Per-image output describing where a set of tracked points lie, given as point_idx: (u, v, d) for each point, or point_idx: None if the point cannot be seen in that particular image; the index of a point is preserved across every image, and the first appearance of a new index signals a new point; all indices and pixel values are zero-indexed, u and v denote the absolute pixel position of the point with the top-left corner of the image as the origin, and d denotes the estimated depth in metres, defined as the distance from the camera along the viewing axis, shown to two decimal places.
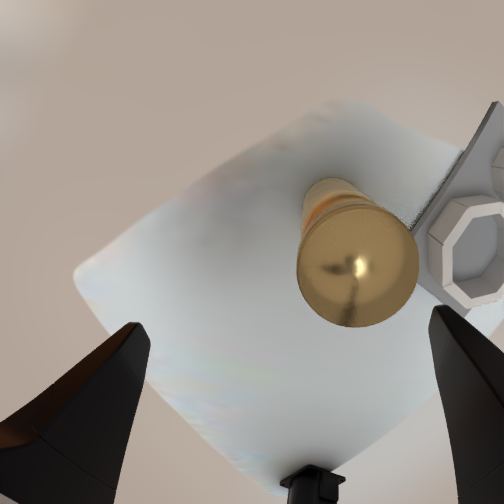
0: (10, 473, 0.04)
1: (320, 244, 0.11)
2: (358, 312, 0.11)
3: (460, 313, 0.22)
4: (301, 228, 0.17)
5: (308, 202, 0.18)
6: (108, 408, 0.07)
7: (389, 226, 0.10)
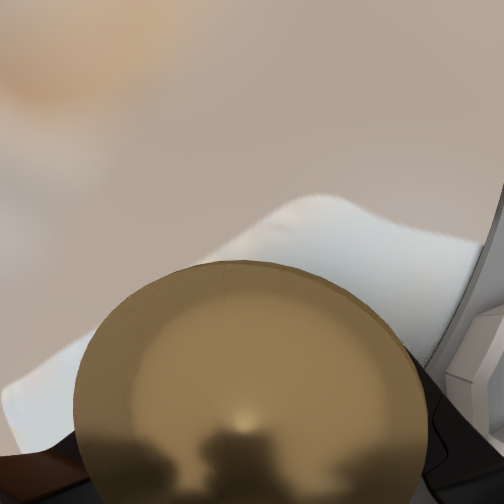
0: None
1: (108, 363, 0.04)
2: None
3: None
4: None
5: None
6: None
7: (308, 310, 0.03)
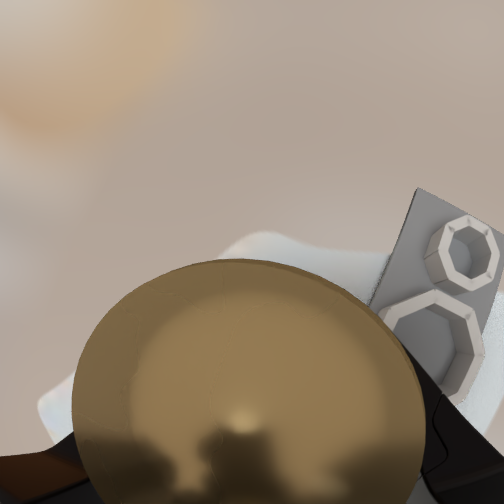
0: None
1: (106, 361, 0.04)
2: None
3: None
4: None
5: None
6: None
7: (305, 308, 0.03)
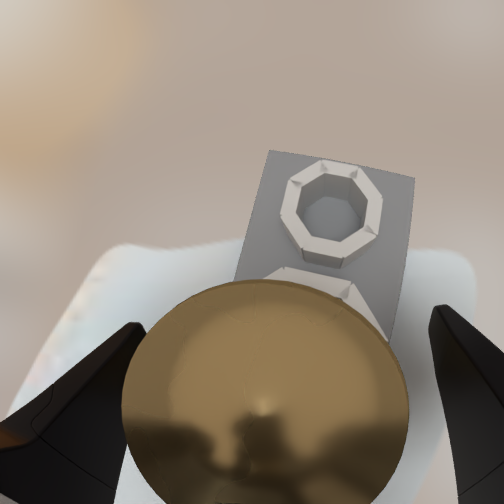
0: (10, 474, 0.04)
1: (156, 362, 0.05)
2: None
3: None
4: None
5: None
6: (108, 408, 0.07)
7: (317, 318, 0.04)
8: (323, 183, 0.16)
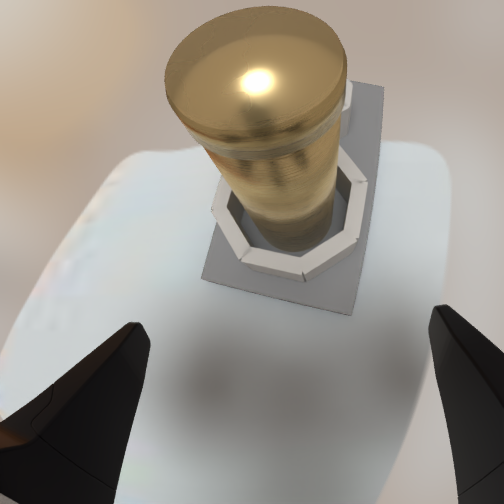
0: (10, 473, 0.04)
1: (195, 39, 0.07)
2: (252, 97, 0.06)
3: (341, 307, 0.17)
4: None
5: None
6: (108, 408, 0.07)
7: (281, 12, 0.07)
8: None
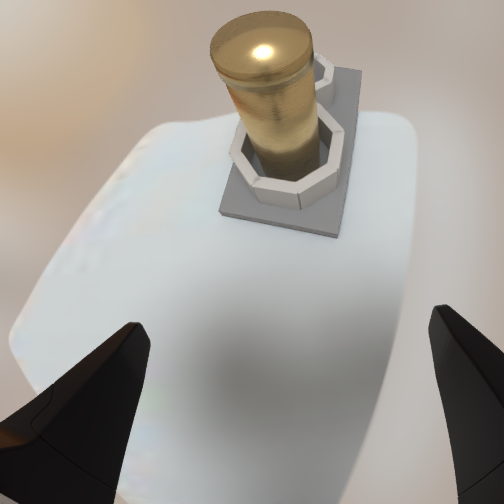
0: (10, 473, 0.04)
1: (226, 29, 0.12)
2: (260, 57, 0.11)
3: (329, 228, 0.22)
4: None
5: None
6: (108, 408, 0.07)
7: (276, 14, 0.12)
8: None
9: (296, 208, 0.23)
